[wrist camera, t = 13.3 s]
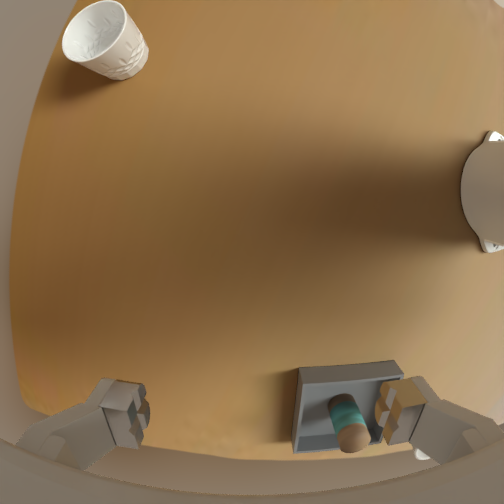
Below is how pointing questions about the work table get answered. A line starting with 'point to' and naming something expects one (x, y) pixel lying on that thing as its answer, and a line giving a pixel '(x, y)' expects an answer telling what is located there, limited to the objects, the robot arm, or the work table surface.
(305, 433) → the bin
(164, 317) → the work table surface
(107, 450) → the robot arm
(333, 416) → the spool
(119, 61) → the white cup
